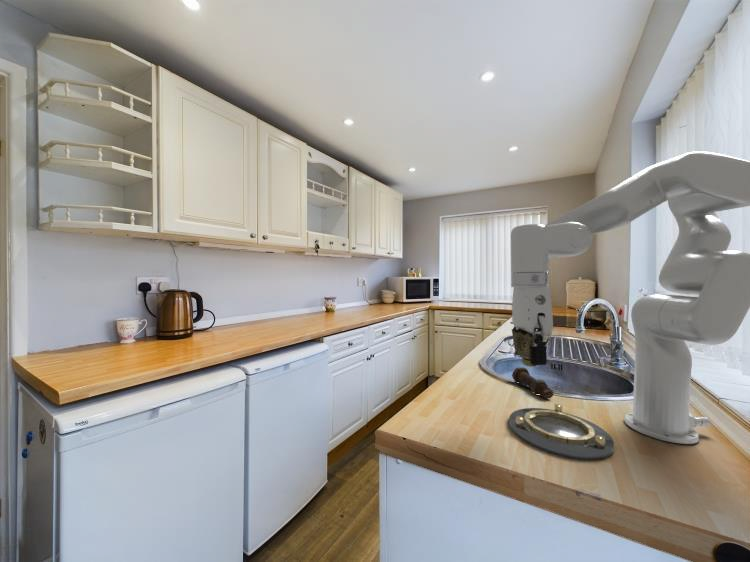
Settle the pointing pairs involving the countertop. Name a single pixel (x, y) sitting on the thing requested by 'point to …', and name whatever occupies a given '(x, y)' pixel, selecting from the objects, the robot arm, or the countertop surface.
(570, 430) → the carrier plate
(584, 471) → the countertop surface
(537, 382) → the bolt
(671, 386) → the robot arm
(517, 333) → the dark hollow rounded piece
